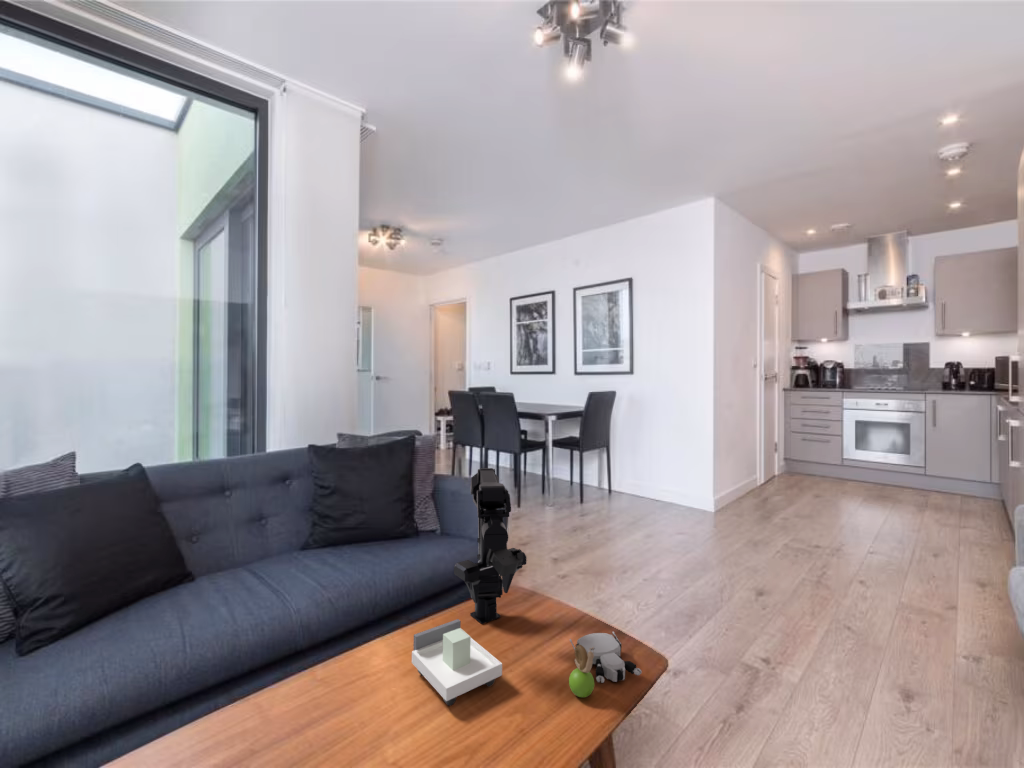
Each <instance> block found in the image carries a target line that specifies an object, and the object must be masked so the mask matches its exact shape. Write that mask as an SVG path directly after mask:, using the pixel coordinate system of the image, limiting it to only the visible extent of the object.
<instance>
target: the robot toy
mask: <svg viewBox="0 0 1024 768" xmlns="http://www.w3.org/2000/svg"><path fill="white" fill-rule="evenodd" d="M576 641H577V642H576V644H575V646H574V643H573V641H572V639H571V638H569V642H570V643H571V645H572V647H573V650H574V651H575V647H576V646H577V645H582V646H583V647H584V648H585V649H586V651H587V654H588V652H590V650H589V649H590V648H592V647H594V648H595V649H594V652H593V650H592V651H591V652H593V654H594V658H593V663H592V665H595V667H596V668H595V670H594V671H595V680H596V682H597V683H601V684H603V683H605V678H606V679H607V680H610V681H612V682H616V683H617V682H623V681H625V680H626V679H625V678H626V672H628V673H630V675H635V676H641V674H642V670H641V669H640V667H637V664H635V663H633V662H632V661H631V660H623V659H622V656H621V652H622V642H621V641H620V640H619V639H618V636H617V635H616V633H615V631H612V634H609V633H605V632H594V633H588V634H586V635H583V636H582V637H579V638H578V639H577V640H576Z"/></svg>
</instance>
